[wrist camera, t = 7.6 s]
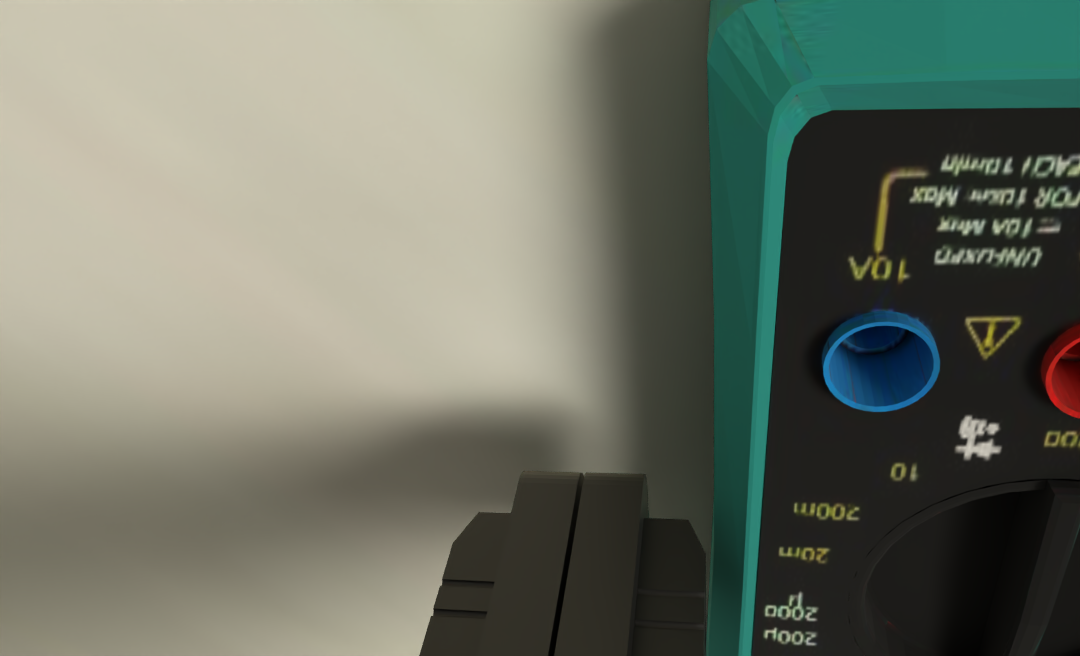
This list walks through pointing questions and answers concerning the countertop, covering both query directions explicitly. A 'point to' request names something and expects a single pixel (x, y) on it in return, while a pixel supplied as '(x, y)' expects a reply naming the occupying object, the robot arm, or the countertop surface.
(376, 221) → the countertop surface
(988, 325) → the digital multimeter
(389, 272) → the countertop surface
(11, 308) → the countertop surface
